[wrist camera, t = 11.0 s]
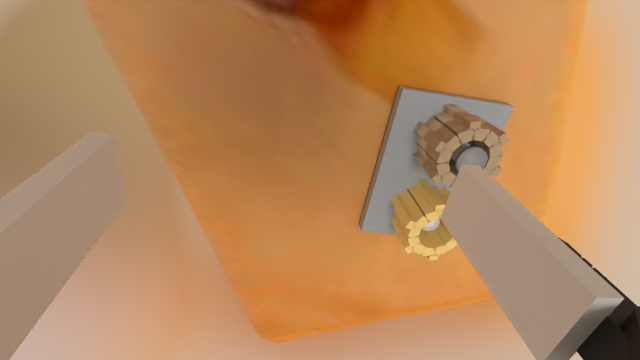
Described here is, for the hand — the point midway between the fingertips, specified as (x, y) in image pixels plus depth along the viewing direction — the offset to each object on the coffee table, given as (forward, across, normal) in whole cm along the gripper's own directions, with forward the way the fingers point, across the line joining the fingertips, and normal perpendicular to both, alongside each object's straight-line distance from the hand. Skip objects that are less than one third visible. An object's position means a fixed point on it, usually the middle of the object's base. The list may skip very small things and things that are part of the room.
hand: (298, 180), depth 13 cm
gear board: (+25, +19, -12) cm, 34 cm away
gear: (+24, +20, -7) cm, 31 cm away
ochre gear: (+24, +19, -17) cm, 35 cm away
